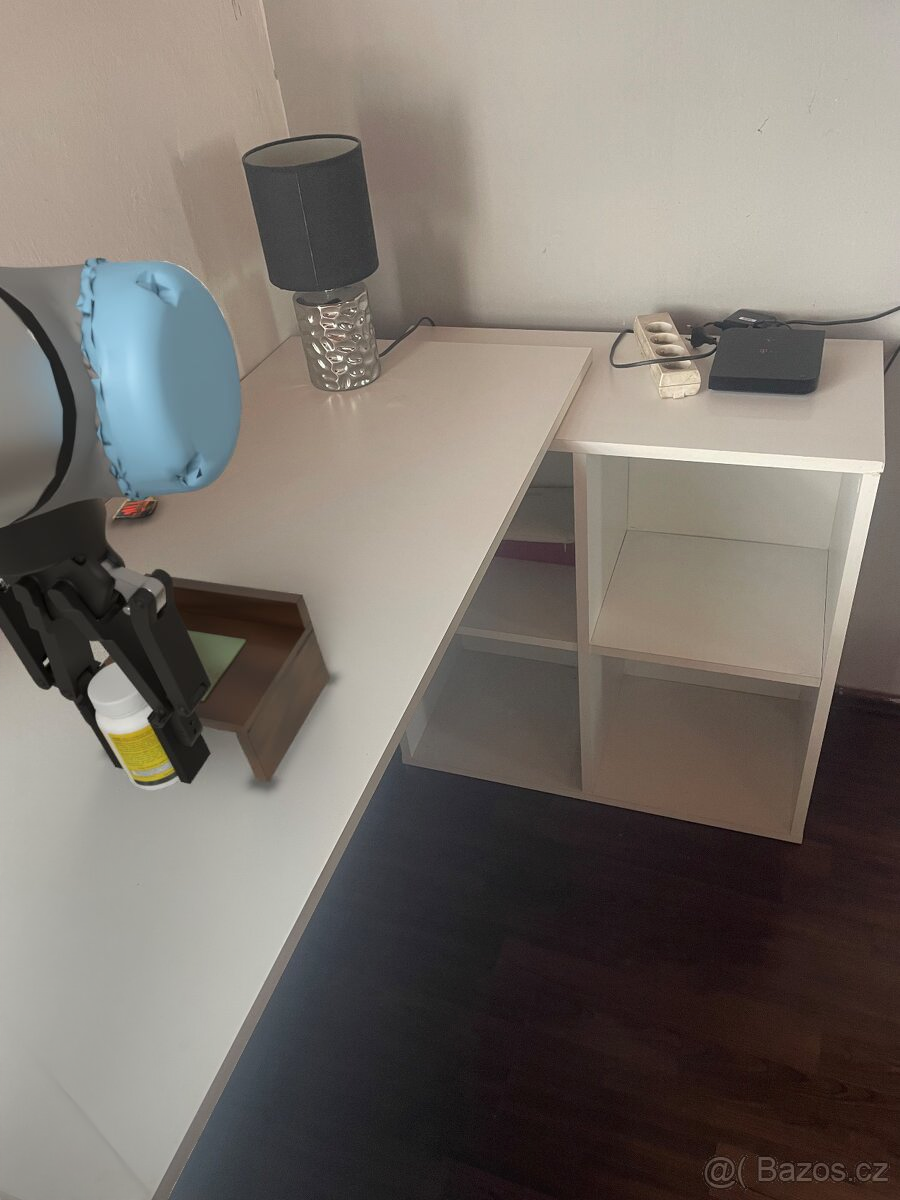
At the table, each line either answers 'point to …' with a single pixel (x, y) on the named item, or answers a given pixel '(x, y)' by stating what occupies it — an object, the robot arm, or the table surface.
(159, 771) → the supplement bottle
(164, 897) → the table surface
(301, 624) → the shelf
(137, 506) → the matchbox
